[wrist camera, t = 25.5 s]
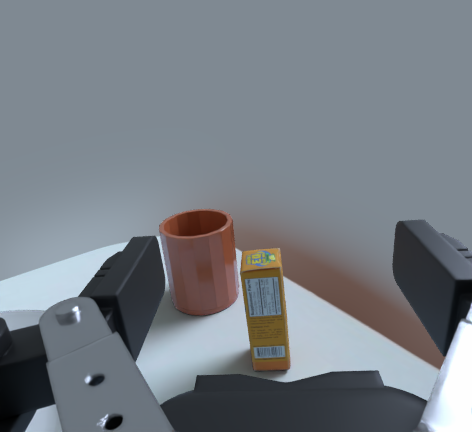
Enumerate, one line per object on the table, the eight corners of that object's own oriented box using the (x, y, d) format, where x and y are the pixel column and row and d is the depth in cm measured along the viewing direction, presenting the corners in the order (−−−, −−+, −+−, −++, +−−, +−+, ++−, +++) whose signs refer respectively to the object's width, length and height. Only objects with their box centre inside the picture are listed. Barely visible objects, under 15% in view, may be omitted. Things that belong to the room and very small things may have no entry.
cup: (251, 285, 42) (245, 214, 39) (212, 324, 36) (201, 244, 33) (200, 271, 46) (190, 205, 43) (158, 303, 40) (143, 230, 37)
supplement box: (250, 344, 33) (241, 247, 29) (288, 343, 33) (284, 245, 29) (249, 373, 30) (239, 269, 26) (291, 372, 30) (287, 267, 26)
